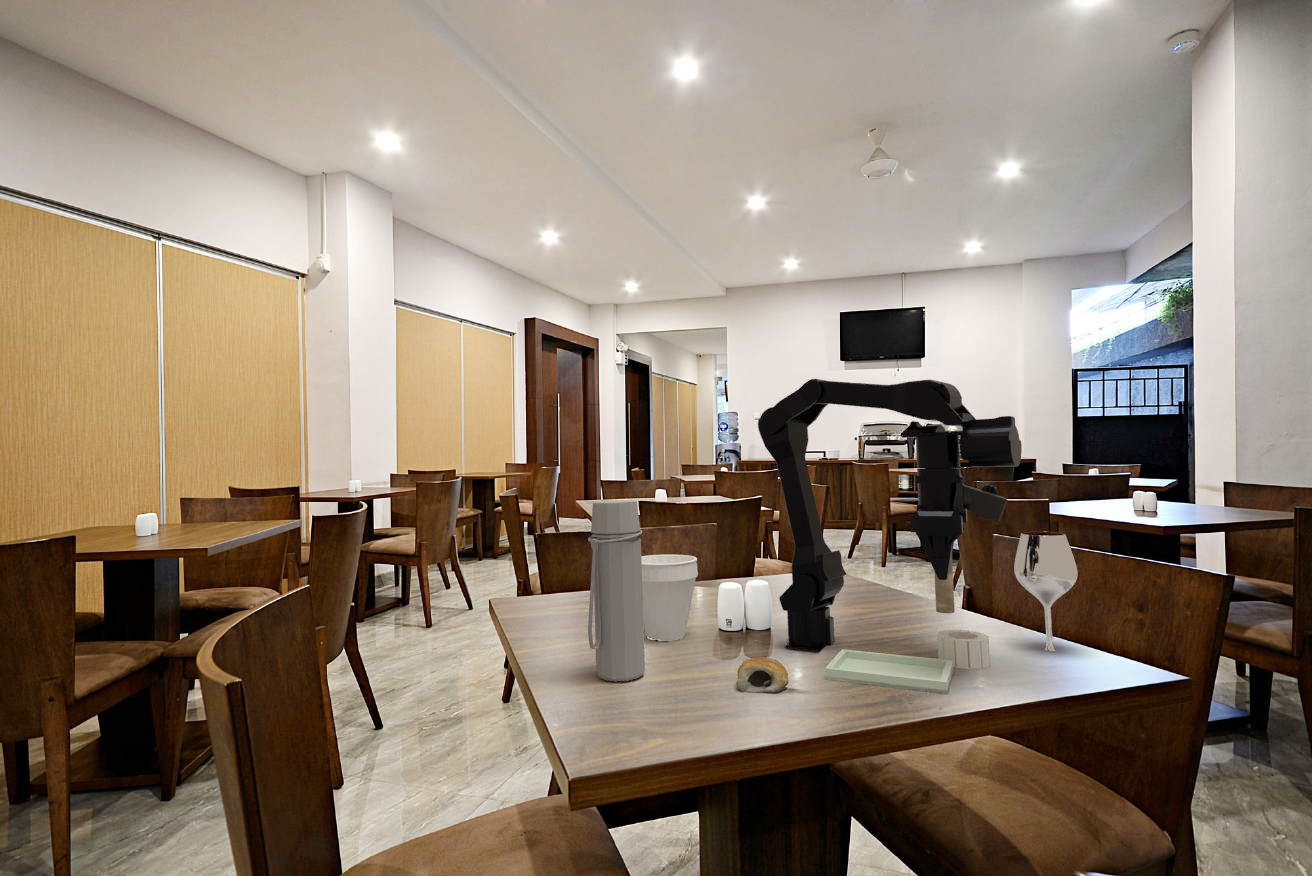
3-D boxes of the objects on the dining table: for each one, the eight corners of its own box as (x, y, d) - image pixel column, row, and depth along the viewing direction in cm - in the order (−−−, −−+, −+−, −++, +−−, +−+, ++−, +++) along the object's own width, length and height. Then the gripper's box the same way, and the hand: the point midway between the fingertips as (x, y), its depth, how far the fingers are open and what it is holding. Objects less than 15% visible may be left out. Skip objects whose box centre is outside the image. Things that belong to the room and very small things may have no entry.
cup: (637, 628, 123) (634, 554, 124) (702, 628, 122) (700, 553, 122) (624, 645, 111) (622, 564, 112) (697, 646, 109) (694, 563, 110)
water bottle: (621, 664, 100) (617, 500, 101) (658, 674, 95) (652, 500, 96) (573, 679, 94) (568, 503, 95) (609, 691, 88) (603, 504, 89)
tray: (825, 684, 88) (824, 668, 88) (842, 664, 97) (841, 649, 97) (947, 700, 81) (946, 682, 81) (954, 676, 90) (953, 660, 90)
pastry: (743, 671, 96) (742, 645, 96) (790, 674, 94) (789, 647, 94) (735, 693, 86) (734, 664, 87) (787, 696, 85) (787, 666, 85)
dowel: (935, 612, 93) (932, 534, 93) (936, 609, 95) (933, 532, 95) (954, 613, 92) (950, 534, 92) (955, 610, 94) (951, 532, 94)
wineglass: (1093, 663, 93) (1084, 536, 94) (1030, 662, 95) (1022, 536, 96) (1069, 648, 101) (1061, 530, 102) (1011, 647, 103) (1004, 531, 104)
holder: (937, 671, 92) (935, 638, 92) (941, 658, 98) (939, 627, 98) (989, 676, 89) (987, 643, 89) (991, 663, 95) (989, 631, 95)
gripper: (1002, 467, 82) (1008, 593, 81) (1001, 466, 99) (1006, 570, 98) (907, 469, 87) (912, 588, 87) (921, 467, 104) (926, 567, 103)
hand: (943, 578), depth 93 cm, fingers closed on dowel, 2 cm apart
